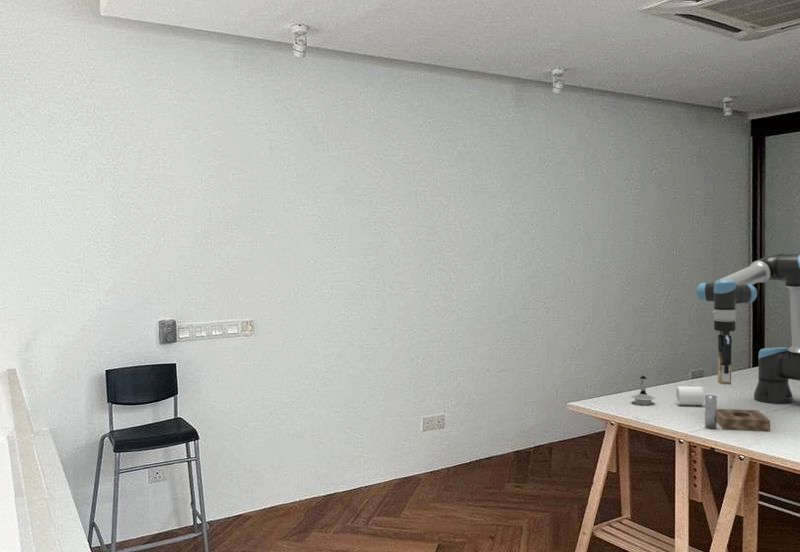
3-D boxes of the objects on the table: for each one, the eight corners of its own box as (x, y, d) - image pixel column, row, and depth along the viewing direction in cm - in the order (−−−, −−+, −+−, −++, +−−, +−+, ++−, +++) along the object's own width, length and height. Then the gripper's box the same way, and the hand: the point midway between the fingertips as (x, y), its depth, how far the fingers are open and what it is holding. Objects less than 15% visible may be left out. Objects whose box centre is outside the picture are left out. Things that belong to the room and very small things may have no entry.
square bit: (728, 382, 271) (728, 351, 271) (731, 384, 267) (731, 353, 267) (717, 382, 272) (717, 351, 272) (719, 384, 268) (719, 353, 268)
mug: (704, 407, 296) (704, 388, 295) (679, 406, 298) (679, 388, 297) (698, 401, 307) (698, 383, 307) (674, 400, 309) (674, 382, 309)
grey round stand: (659, 375, 305) (637, 372, 311) (649, 378, 297) (627, 375, 304) (659, 403, 305) (637, 399, 312) (649, 407, 298) (627, 403, 305)
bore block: (758, 420, 272) (758, 410, 272) (770, 431, 257) (770, 420, 257) (714, 418, 276) (714, 408, 276) (723, 429, 260) (723, 418, 260)
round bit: (715, 426, 265) (715, 395, 264) (717, 429, 261) (717, 397, 260) (703, 426, 266) (704, 394, 265) (706, 428, 262) (706, 397, 261)
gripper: (710, 317, 278) (710, 376, 279) (718, 322, 261) (718, 384, 262) (730, 318, 276) (730, 376, 277) (740, 322, 259) (740, 385, 260)
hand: (724, 380), depth 270 cm, fingers closed on square bit, 4 cm apart
